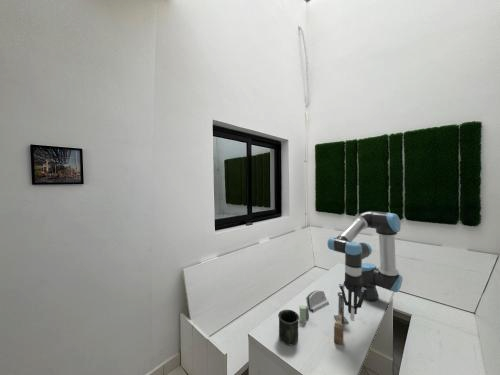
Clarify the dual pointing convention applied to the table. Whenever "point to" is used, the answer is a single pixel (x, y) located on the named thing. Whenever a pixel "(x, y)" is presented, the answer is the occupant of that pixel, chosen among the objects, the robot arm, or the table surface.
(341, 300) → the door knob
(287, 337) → the dark green cylindrical container
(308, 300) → the grey arched slab
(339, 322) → the wooden mallet
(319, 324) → the table surface
